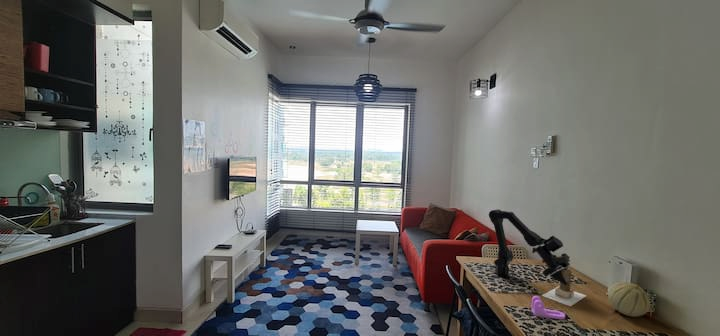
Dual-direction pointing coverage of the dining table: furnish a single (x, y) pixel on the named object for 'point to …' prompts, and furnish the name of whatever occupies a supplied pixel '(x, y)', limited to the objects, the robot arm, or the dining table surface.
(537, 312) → the bracket
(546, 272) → the robot arm
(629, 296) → the cantaloupe
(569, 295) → the brown piece
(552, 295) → the board
